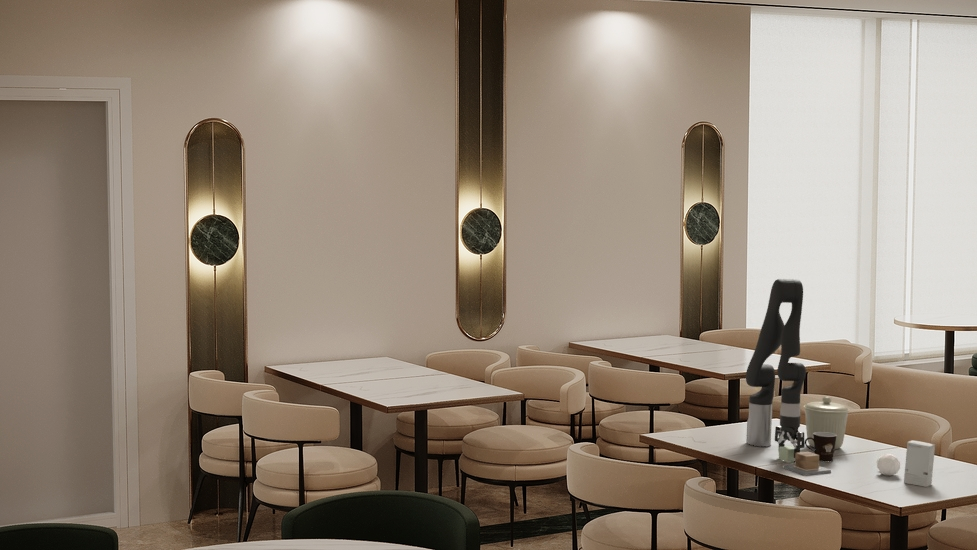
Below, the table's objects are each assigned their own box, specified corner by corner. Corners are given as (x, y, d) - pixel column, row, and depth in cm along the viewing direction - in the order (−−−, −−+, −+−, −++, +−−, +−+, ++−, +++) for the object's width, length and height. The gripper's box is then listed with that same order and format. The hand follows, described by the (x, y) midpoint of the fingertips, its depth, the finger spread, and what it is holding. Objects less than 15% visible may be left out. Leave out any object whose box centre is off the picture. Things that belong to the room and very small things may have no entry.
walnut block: (794, 466, 378) (795, 452, 377) (807, 464, 380) (808, 451, 380) (805, 469, 372) (806, 456, 372) (818, 468, 374) (819, 455, 374)
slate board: (783, 467, 379) (783, 464, 379) (808, 465, 384) (808, 462, 384) (805, 475, 368) (805, 472, 368) (830, 472, 373) (830, 469, 373)
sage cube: (778, 459, 393) (779, 446, 392) (788, 458, 395) (789, 445, 394) (787, 462, 388) (787, 449, 388) (797, 461, 390) (798, 448, 390)
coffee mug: (835, 458, 396) (836, 433, 395) (835, 463, 388) (836, 437, 387) (804, 455, 400) (805, 430, 399) (803, 460, 392) (804, 434, 391)
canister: (857, 450, 410) (860, 399, 409) (821, 453, 404) (824, 401, 402) (827, 441, 427) (829, 391, 426) (792, 444, 420) (794, 393, 419)
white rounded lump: (878, 468, 367) (864, 464, 379) (896, 481, 367) (881, 477, 379) (890, 450, 368) (876, 447, 379) (908, 464, 368) (893, 460, 380)
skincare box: (903, 483, 360) (905, 442, 359) (909, 480, 365) (910, 439, 364) (928, 487, 355) (930, 445, 354) (933, 484, 359) (935, 443, 358)
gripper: (810, 416, 385) (809, 459, 386) (785, 410, 398) (784, 451, 399) (795, 418, 382) (793, 460, 383) (770, 411, 395) (769, 452, 396)
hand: (788, 455), depth 391 cm, fingers open, 8 cm apart
